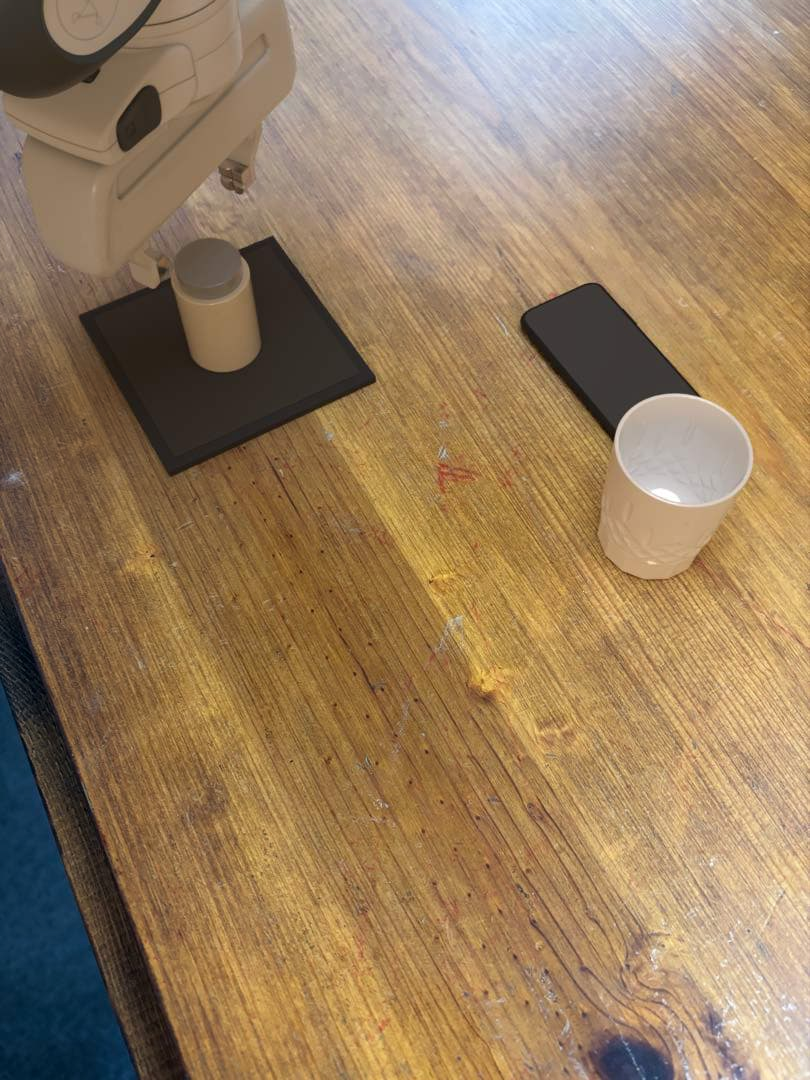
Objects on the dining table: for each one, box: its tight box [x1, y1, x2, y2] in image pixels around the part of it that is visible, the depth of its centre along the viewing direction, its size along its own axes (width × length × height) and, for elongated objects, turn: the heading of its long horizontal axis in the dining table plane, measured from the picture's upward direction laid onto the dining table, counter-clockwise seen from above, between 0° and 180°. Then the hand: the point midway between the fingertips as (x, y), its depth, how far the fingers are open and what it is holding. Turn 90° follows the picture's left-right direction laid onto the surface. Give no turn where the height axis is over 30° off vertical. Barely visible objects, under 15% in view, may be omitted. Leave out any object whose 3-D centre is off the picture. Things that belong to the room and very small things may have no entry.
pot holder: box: [78, 235, 377, 477], centre depth 77 cm, size 16×16×1 cm
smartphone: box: [519, 282, 703, 440], centre depth 76 cm, size 7×1×15 cm
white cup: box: [596, 394, 754, 580], centre depth 65 cm, size 8×8×10 cm
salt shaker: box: [170, 237, 261, 372], centre depth 73 cm, size 5×5×8 cm
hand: (197, 230), depth 67 cm, fingers open, 8 cm apart
